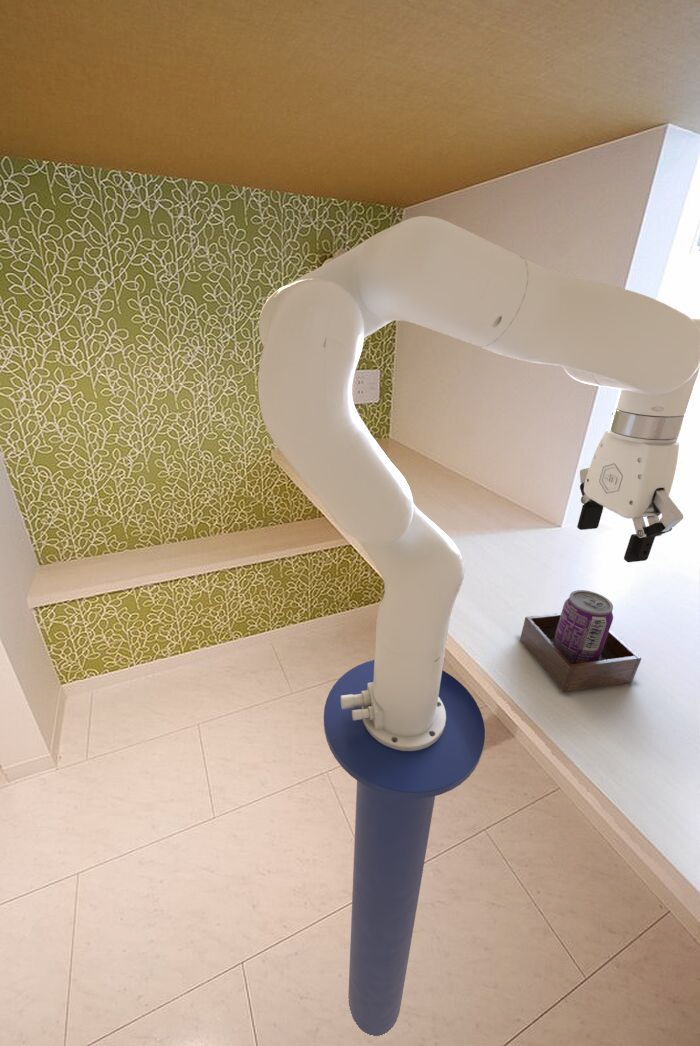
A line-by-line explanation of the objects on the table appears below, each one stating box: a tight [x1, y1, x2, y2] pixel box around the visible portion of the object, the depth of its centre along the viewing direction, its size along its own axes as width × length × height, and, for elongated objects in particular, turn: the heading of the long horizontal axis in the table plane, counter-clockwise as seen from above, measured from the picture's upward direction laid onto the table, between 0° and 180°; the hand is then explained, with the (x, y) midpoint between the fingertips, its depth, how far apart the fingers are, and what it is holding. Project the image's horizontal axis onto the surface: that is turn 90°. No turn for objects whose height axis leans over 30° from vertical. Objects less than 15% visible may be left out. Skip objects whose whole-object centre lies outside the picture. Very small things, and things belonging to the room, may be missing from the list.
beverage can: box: [552, 589, 614, 665], centre depth 71 cm, size 7×7×12 cm
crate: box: [519, 612, 642, 693], centre depth 72 cm, size 12×12×5 cm
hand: (609, 543), depth 63 cm, fingers open, 9 cm apart
